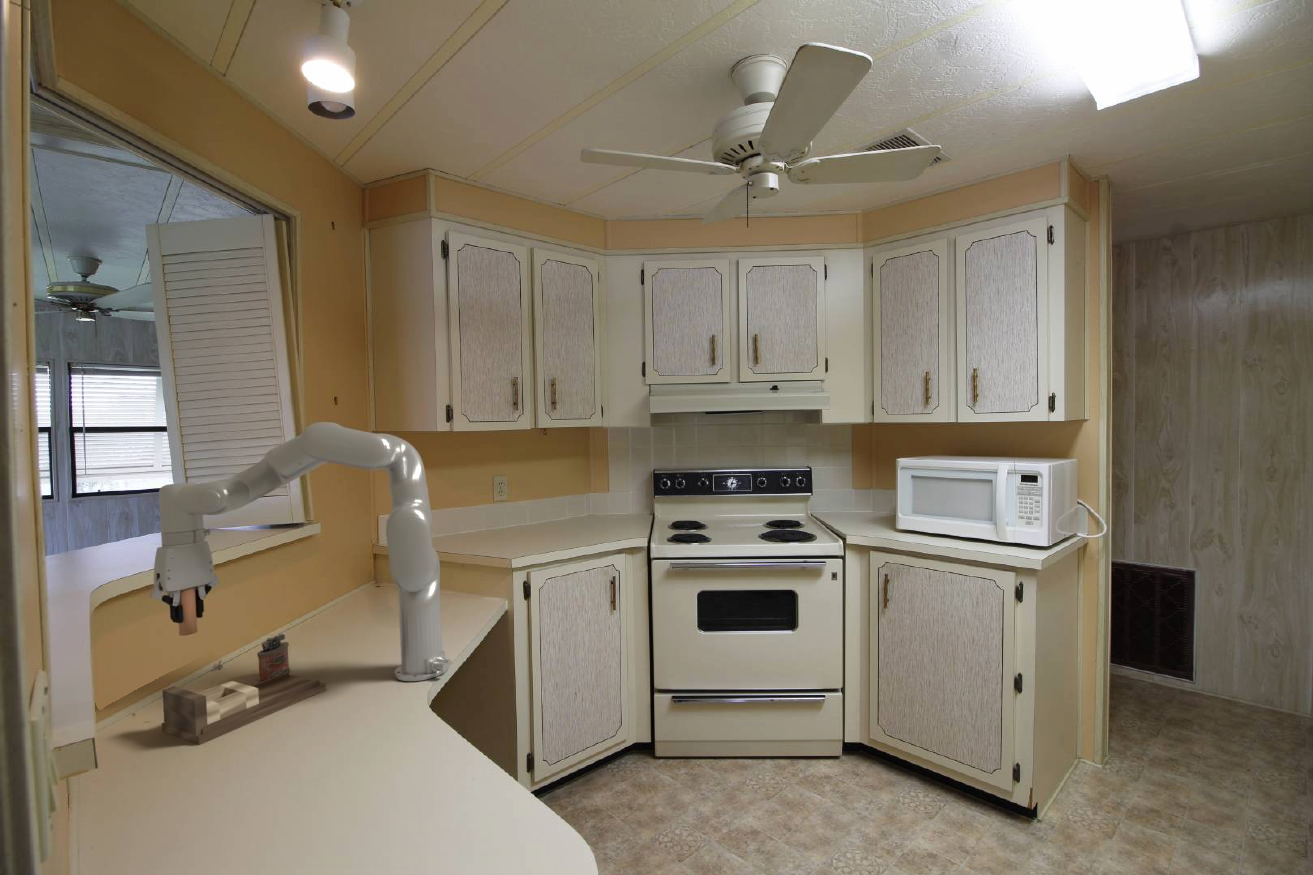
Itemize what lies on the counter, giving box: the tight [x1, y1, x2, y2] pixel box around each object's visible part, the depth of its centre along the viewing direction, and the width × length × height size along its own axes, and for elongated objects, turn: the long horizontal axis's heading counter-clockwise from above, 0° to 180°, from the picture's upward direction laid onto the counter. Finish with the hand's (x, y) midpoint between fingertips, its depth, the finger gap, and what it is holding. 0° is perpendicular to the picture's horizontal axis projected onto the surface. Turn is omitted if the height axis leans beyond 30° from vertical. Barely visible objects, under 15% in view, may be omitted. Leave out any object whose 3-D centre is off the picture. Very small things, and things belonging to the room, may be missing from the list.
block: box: [196, 680, 259, 725], centre depth 126 cm, size 10×10×4 cm
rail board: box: [161, 672, 327, 746], centre depth 131 cm, size 14×26×8 cm, turn 153°
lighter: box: [256, 633, 291, 683], centre depth 147 cm, size 8×3×10 cm, turn 168°
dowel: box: [178, 588, 198, 637], centre depth 135 cm, size 3×3×10 cm
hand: (187, 618), depth 135 cm, fingers closed on dowel, 3 cm apart
